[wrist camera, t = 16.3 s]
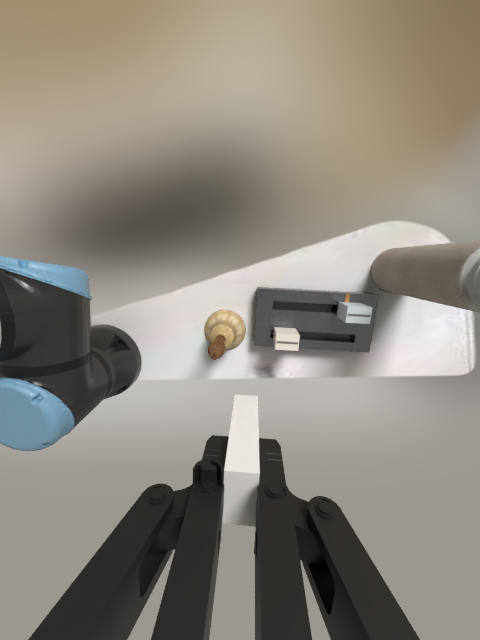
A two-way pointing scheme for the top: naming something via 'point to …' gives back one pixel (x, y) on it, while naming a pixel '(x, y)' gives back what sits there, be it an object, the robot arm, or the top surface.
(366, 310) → the fader
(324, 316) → the console
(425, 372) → the top surface
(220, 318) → the hand bell
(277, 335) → the fader
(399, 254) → the thermos bottle
